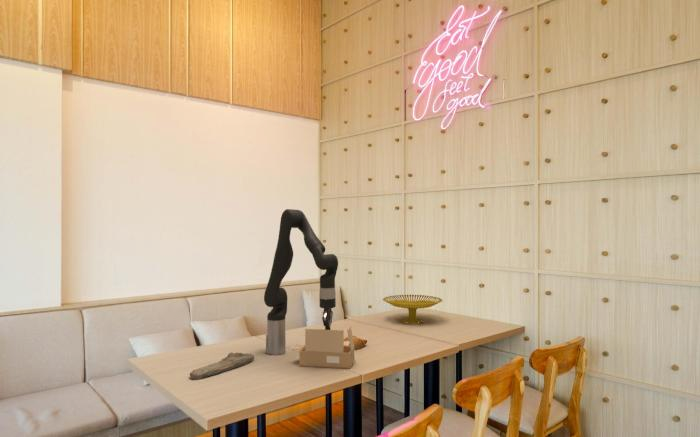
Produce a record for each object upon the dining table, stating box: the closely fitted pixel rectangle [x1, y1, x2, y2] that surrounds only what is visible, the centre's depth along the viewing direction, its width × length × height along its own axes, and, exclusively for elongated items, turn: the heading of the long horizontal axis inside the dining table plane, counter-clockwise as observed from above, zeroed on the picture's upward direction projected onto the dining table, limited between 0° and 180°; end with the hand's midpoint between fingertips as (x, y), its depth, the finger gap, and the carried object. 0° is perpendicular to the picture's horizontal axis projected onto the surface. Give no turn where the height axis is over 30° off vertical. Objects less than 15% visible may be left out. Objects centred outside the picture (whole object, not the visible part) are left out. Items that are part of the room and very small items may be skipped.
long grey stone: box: [189, 352, 255, 381], centre depth 208 cm, size 35×5×10 cm
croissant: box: [344, 335, 368, 351], centre depth 241 cm, size 21×10×8 cm, turn 122°
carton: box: [292, 341, 355, 370], centre depth 219 cm, size 28×20×7 cm
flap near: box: [304, 328, 345, 352], centre depth 209 cm, size 1×18×10 cm, turn 81°
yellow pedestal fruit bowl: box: [382, 294, 443, 324], centre depth 306 cm, size 40×40×15 cm
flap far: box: [347, 325, 354, 351], centre depth 213 cm, size 1×7×10 cm, turn 171°
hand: (327, 334), depth 211 cm, fingers closed
